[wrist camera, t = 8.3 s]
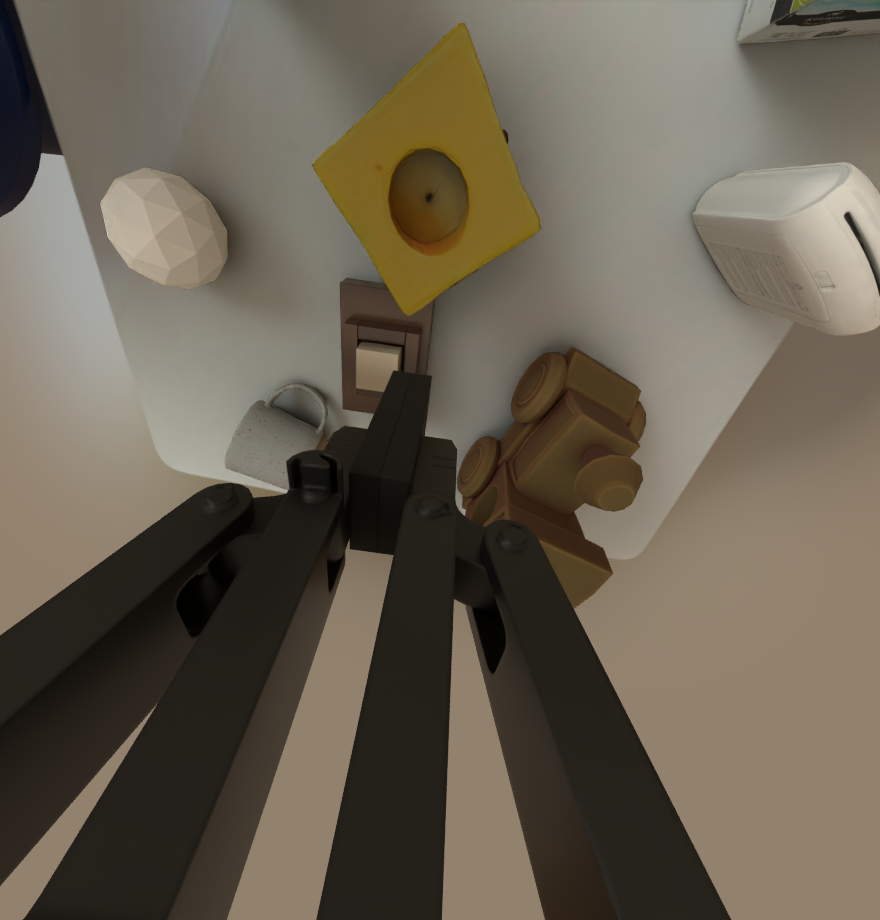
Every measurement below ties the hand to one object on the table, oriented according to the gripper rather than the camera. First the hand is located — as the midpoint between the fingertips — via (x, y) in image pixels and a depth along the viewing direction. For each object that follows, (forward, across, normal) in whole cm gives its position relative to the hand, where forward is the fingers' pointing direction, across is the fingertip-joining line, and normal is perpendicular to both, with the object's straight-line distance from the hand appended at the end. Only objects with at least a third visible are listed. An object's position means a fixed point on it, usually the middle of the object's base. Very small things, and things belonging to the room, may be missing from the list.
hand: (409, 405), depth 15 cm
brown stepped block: (+22, -4, -6) cm, 24 cm away
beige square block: (+19, -5, -6) cm, 20 cm away
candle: (+23, -1, +7) cm, 24 cm away
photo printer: (+23, +23, +7) cm, 33 cm away
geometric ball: (+23, -21, +2) cm, 31 cm away
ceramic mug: (+23, -15, -16) cm, 31 cm away
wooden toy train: (+23, +12, -13) cm, 29 cm away
